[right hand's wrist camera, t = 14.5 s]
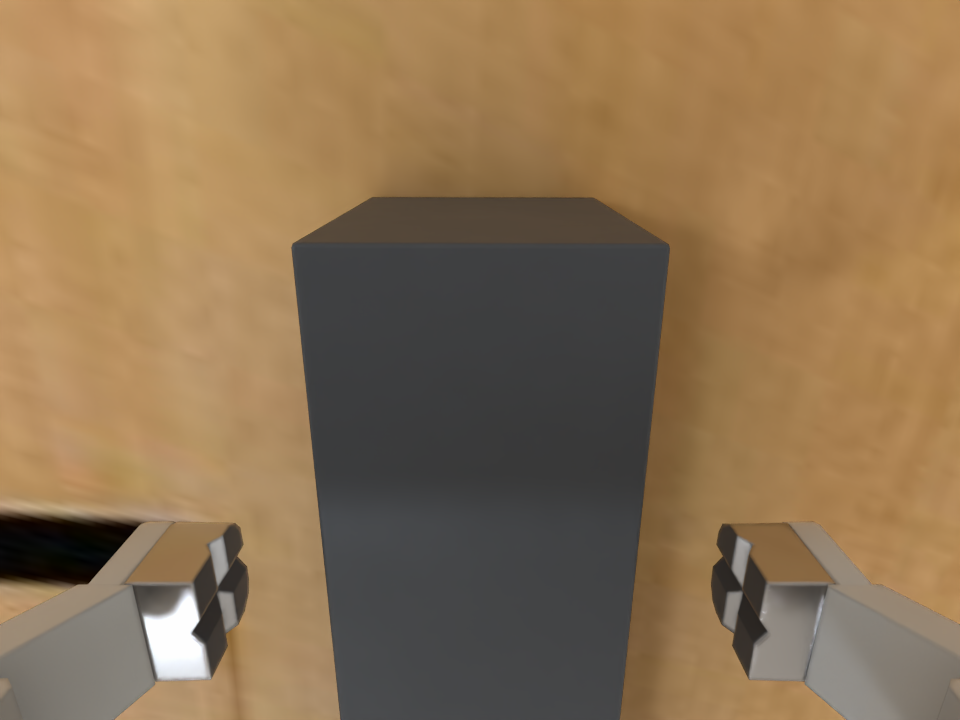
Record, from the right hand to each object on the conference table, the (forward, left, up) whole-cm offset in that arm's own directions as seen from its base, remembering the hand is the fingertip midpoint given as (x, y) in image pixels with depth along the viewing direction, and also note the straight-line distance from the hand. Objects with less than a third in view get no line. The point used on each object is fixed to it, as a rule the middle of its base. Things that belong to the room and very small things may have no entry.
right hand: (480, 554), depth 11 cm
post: (+24, -11, -6) cm, 27 cm away
